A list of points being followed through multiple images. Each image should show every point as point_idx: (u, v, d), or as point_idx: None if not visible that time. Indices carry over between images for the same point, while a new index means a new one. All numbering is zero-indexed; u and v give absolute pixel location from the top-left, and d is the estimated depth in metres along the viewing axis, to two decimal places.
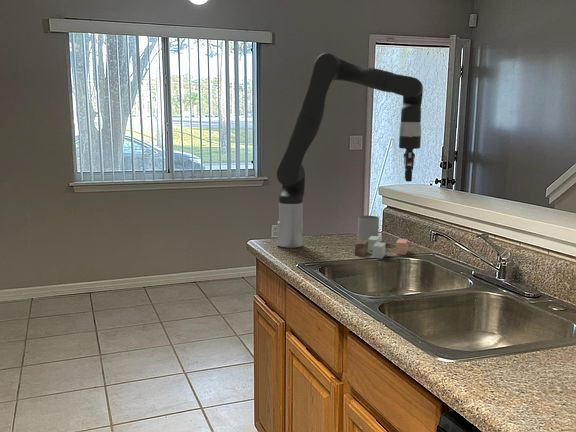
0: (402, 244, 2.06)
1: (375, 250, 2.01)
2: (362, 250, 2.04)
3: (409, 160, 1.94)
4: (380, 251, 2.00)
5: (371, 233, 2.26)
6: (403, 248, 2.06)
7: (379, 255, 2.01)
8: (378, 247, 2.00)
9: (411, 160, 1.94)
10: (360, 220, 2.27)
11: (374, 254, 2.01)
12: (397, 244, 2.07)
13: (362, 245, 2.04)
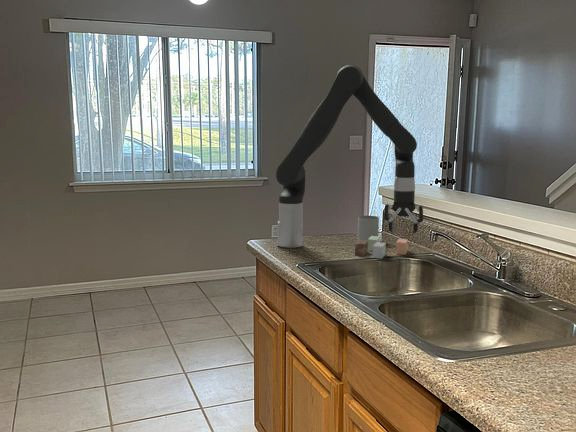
0: (402, 244, 2.06)
1: (375, 250, 2.01)
2: (362, 250, 2.04)
3: (422, 213, 2.05)
4: (380, 251, 2.00)
5: (371, 233, 2.26)
6: (403, 248, 2.06)
7: (379, 255, 2.01)
8: (378, 247, 2.00)
9: None
10: (360, 220, 2.27)
11: (374, 254, 2.01)
12: (397, 244, 2.07)
13: (362, 245, 2.04)
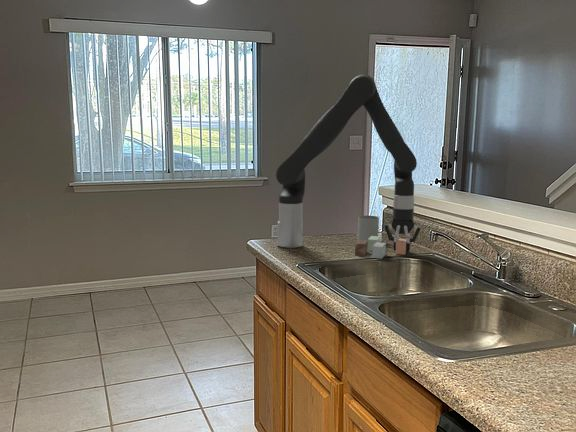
0: (402, 244, 2.06)
1: (375, 250, 2.01)
2: (362, 250, 2.04)
3: (417, 234, 2.07)
4: (380, 251, 2.00)
5: (371, 233, 2.26)
6: (403, 248, 2.06)
7: (379, 255, 2.01)
8: (378, 247, 2.00)
9: None
10: (360, 220, 2.27)
11: (374, 254, 2.01)
12: (397, 244, 2.07)
13: (362, 245, 2.04)
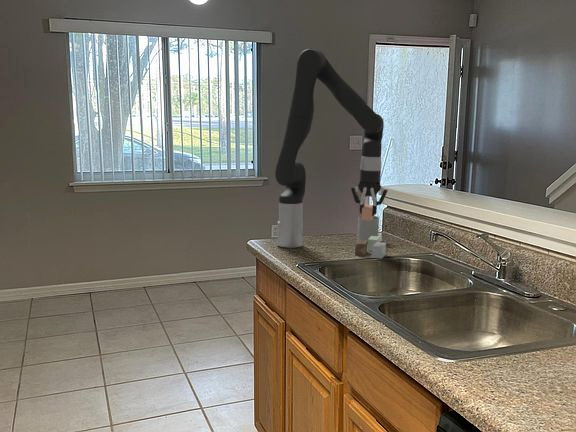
0: (368, 210, 2.03)
1: (375, 250, 2.01)
2: (363, 250, 2.04)
3: (384, 197, 2.04)
4: (380, 251, 2.00)
5: (371, 233, 2.26)
6: (369, 214, 2.03)
7: (379, 255, 2.01)
8: (377, 247, 2.00)
9: (384, 197, 2.05)
10: (360, 220, 2.27)
11: (374, 254, 2.01)
12: (363, 210, 2.04)
13: (363, 245, 2.04)
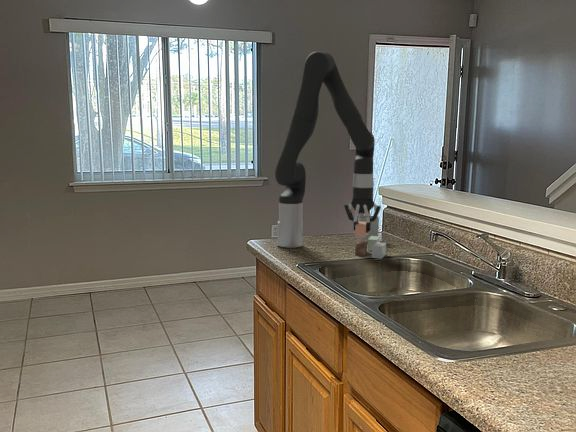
0: (361, 227, 2.03)
1: (374, 250, 2.01)
2: (363, 250, 2.04)
3: (377, 213, 2.04)
4: (379, 251, 2.00)
5: (371, 233, 2.26)
6: (362, 231, 2.03)
7: (378, 255, 2.01)
8: (377, 247, 2.00)
9: (378, 213, 2.04)
10: (360, 220, 2.27)
11: (373, 254, 2.01)
12: (356, 227, 2.03)
13: (363, 245, 2.04)
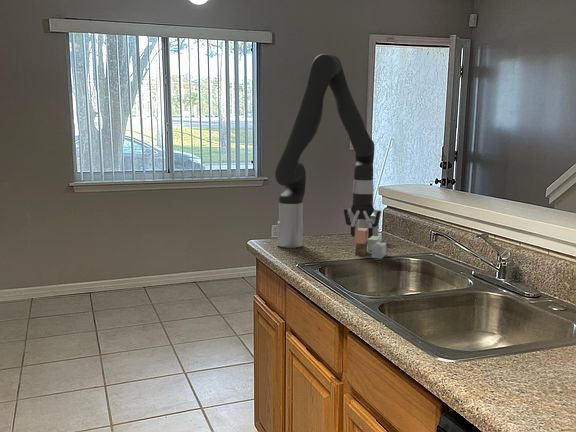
0: (361, 233, 2.04)
1: (374, 250, 2.01)
2: (363, 250, 2.04)
3: (379, 218, 2.04)
4: (379, 251, 2.00)
5: None
6: (362, 237, 2.04)
7: (378, 255, 2.01)
8: (377, 247, 2.00)
9: (379, 218, 2.05)
10: (360, 220, 2.27)
11: (373, 254, 2.01)
12: (356, 233, 2.04)
13: (363, 245, 2.04)
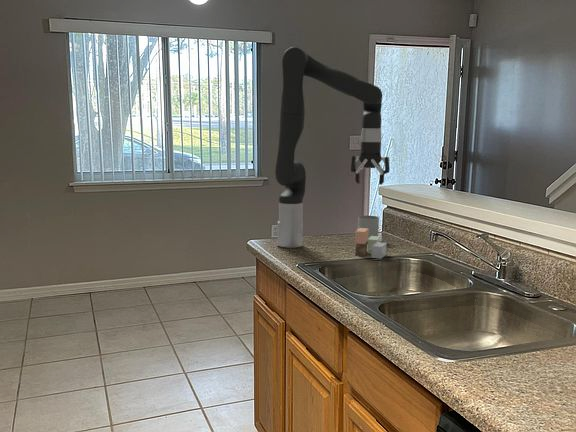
0: (361, 233, 2.04)
1: (374, 250, 2.01)
2: (363, 250, 2.04)
3: (388, 164, 2.07)
4: (379, 251, 2.00)
5: (371, 233, 2.26)
6: (362, 237, 2.04)
7: (378, 255, 2.01)
8: (377, 247, 2.00)
9: None
10: (360, 220, 2.27)
11: (373, 254, 2.01)
12: (356, 233, 2.04)
13: (363, 245, 2.04)
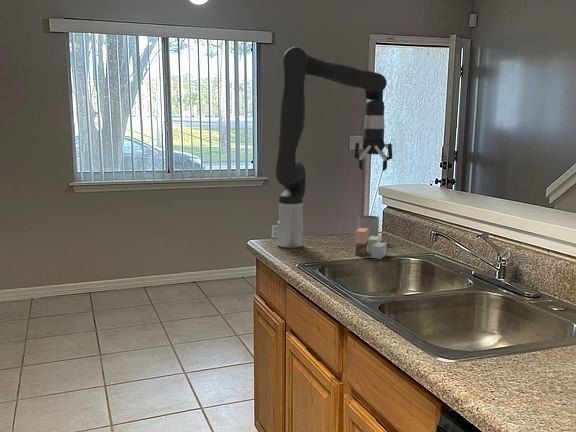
0: (361, 233, 2.04)
1: (374, 250, 2.01)
2: (363, 250, 2.04)
3: (391, 150, 2.12)
4: (379, 251, 2.00)
5: (371, 233, 2.26)
6: (362, 237, 2.04)
7: (378, 255, 2.01)
8: (377, 247, 2.00)
9: None
10: (360, 220, 2.27)
11: (373, 254, 2.01)
12: (356, 233, 2.04)
13: (363, 245, 2.04)
